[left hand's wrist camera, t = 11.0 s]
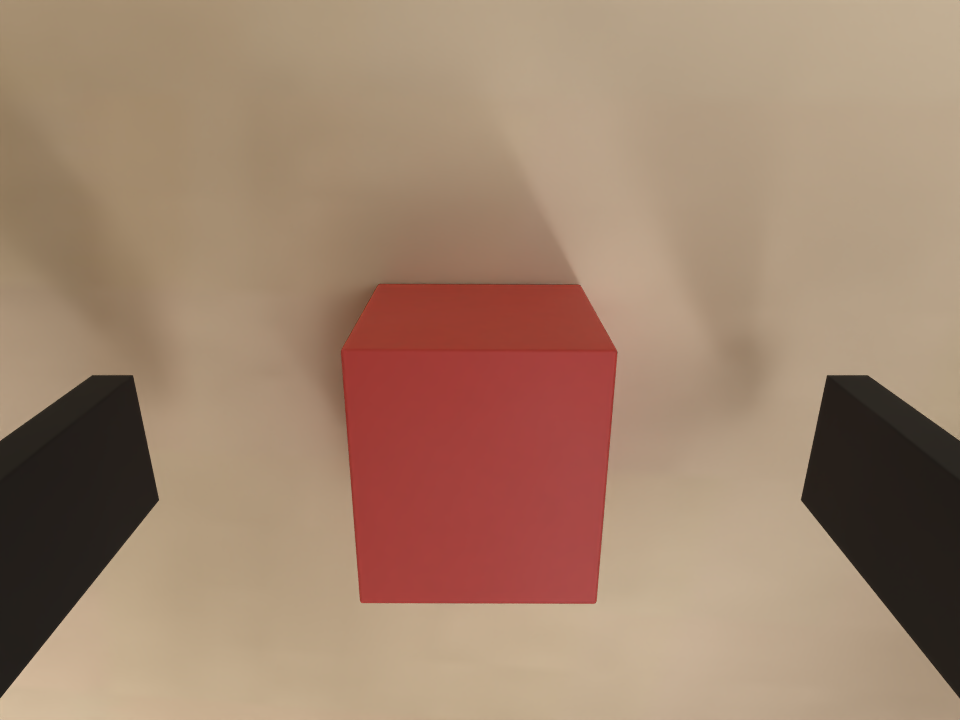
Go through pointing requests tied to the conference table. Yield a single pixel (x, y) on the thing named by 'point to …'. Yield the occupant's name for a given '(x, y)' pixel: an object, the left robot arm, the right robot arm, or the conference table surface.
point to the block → (478, 443)
